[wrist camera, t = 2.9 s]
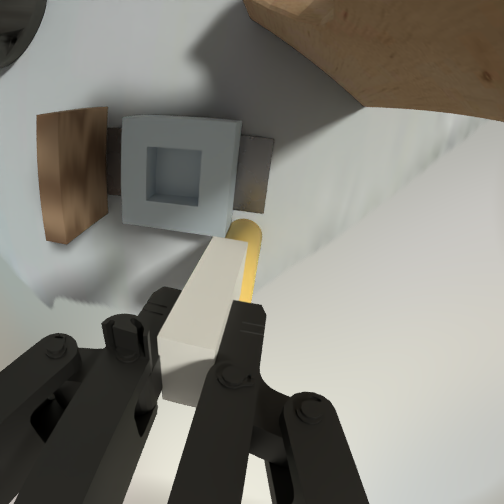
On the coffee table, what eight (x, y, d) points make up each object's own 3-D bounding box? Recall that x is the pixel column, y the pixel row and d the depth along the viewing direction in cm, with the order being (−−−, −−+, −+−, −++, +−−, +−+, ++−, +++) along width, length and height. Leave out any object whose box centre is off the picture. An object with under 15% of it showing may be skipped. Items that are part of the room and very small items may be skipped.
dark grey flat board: (108, 127, 30) (107, 127, 30) (273, 139, 30) (273, 139, 29) (108, 193, 34) (107, 194, 34) (263, 212, 33) (263, 213, 33)
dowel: (227, 216, 34) (187, 302, 20) (264, 221, 34) (248, 313, 19) (224, 248, 36) (187, 346, 21) (259, 254, 35) (242, 356, 21)
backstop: (87, 107, 29) (36, 115, 21) (107, 106, 29) (58, 112, 21) (88, 210, 35) (46, 240, 27) (108, 213, 35) (66, 244, 27)
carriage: (140, 114, 29) (122, 117, 25) (242, 120, 29) (236, 122, 25) (138, 210, 34) (122, 223, 30) (231, 222, 34) (224, 237, 30)
